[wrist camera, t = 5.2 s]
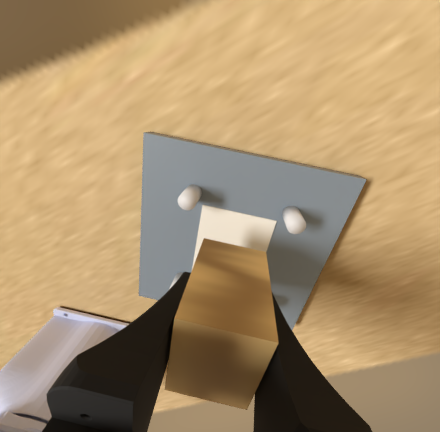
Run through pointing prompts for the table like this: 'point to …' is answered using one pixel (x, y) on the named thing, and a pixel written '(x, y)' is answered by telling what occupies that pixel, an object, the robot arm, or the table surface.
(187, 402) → the table surface
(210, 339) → the ochre block
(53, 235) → the table surface
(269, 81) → the table surface
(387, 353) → the table surface
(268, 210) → the pin board
